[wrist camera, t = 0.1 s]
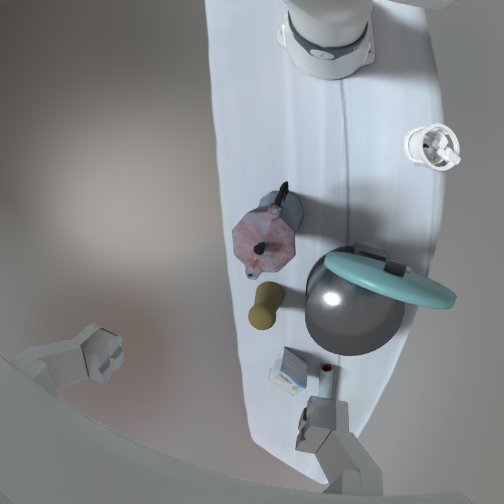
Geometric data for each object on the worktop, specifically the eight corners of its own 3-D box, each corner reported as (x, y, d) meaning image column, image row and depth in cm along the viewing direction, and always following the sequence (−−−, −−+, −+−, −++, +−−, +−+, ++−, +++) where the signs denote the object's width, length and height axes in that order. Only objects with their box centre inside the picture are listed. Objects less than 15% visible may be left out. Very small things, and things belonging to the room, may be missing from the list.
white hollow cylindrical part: (417, 172, 49) (449, 181, 35) (389, 151, 49) (413, 151, 35) (434, 144, 46) (469, 143, 32) (406, 122, 46) (435, 113, 32)
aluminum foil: (328, 419, 73) (328, 428, 70) (305, 419, 75) (304, 428, 72) (333, 363, 66) (334, 372, 63) (306, 363, 68) (305, 372, 65)
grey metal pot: (322, 227, 56) (323, 244, 46) (408, 251, 54) (425, 272, 44) (295, 317, 64) (290, 346, 54) (372, 335, 61) (380, 366, 51)
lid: (320, 252, 47) (324, 235, 46) (423, 280, 44) (427, 265, 44) (330, 283, 28) (338, 256, 28) (477, 320, 26) (486, 298, 25)
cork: (287, 304, 63) (280, 332, 53) (260, 308, 65) (249, 336, 55) (279, 278, 62) (272, 304, 51) (252, 284, 63) (240, 309, 53)
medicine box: (272, 355, 69) (266, 379, 61) (284, 345, 67) (279, 369, 59) (296, 372, 69) (293, 397, 61) (308, 363, 67) (306, 388, 59)
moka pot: (246, 240, 60) (215, 280, 42) (266, 165, 55) (240, 172, 36) (292, 254, 59) (280, 301, 41) (315, 179, 54) (315, 194, 35)
